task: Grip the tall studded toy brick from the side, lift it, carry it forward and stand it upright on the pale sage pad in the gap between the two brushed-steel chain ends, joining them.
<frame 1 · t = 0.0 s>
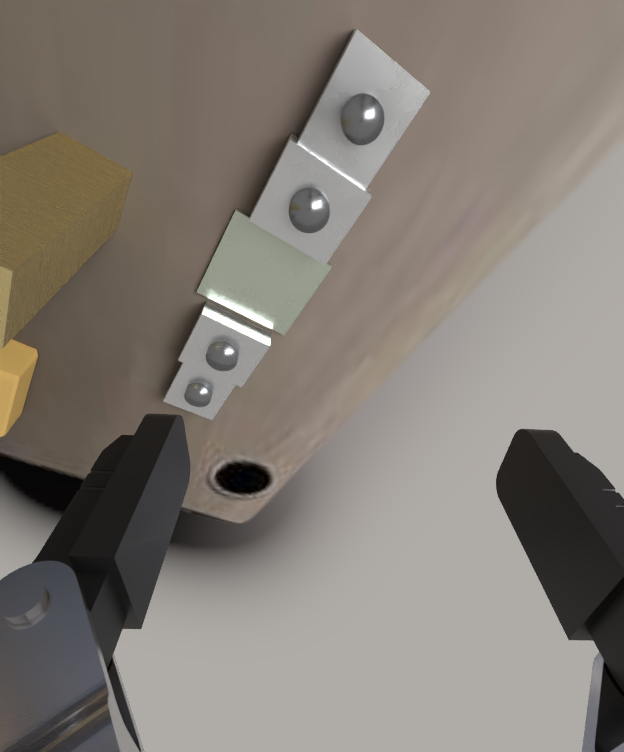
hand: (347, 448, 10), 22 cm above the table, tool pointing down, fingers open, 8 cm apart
tall studded toy brick: (90, 184, 27), on the table
chain ends: (263, 277, 31), on the table
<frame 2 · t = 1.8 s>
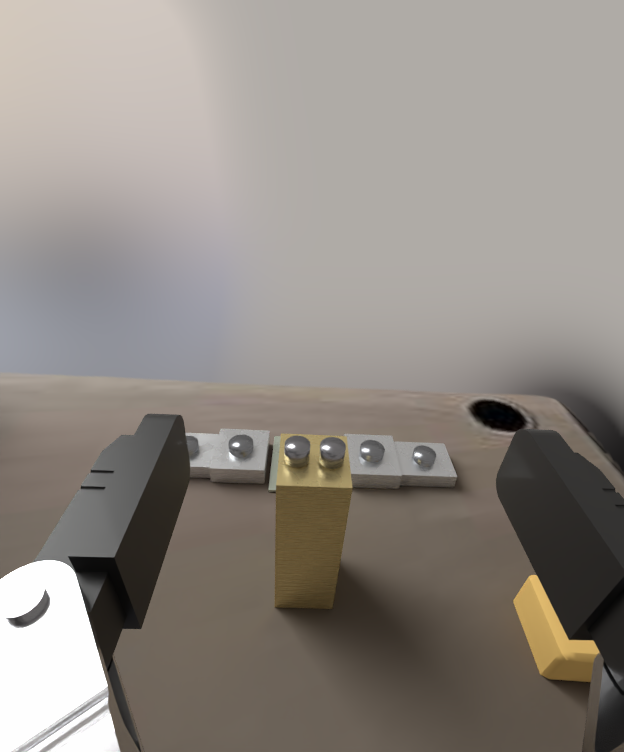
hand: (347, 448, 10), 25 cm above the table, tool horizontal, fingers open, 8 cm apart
rubber stamp: (588, 641, 31), on the table
tall studded toy brick: (304, 579, 33), on the table
chain ends: (305, 464, 44), on the table
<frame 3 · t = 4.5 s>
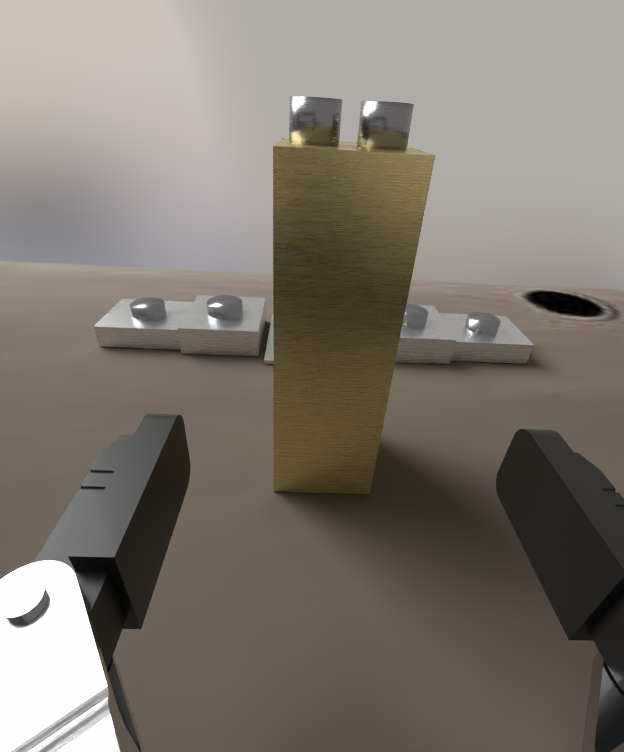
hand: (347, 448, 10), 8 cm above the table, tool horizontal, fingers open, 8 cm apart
tall studded toy brick: (320, 458, 21), on the table
chain ends: (316, 339, 31), on the table
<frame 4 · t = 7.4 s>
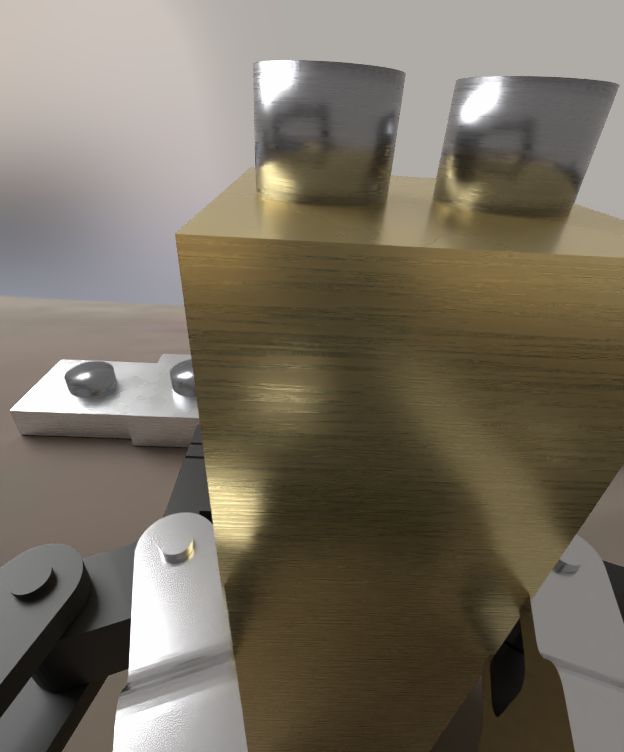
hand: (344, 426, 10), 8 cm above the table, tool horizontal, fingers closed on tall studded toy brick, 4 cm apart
tall studded toy brick: (326, 676, 13), on the table, touching gripper
chain ends: (319, 416, 23), on the table
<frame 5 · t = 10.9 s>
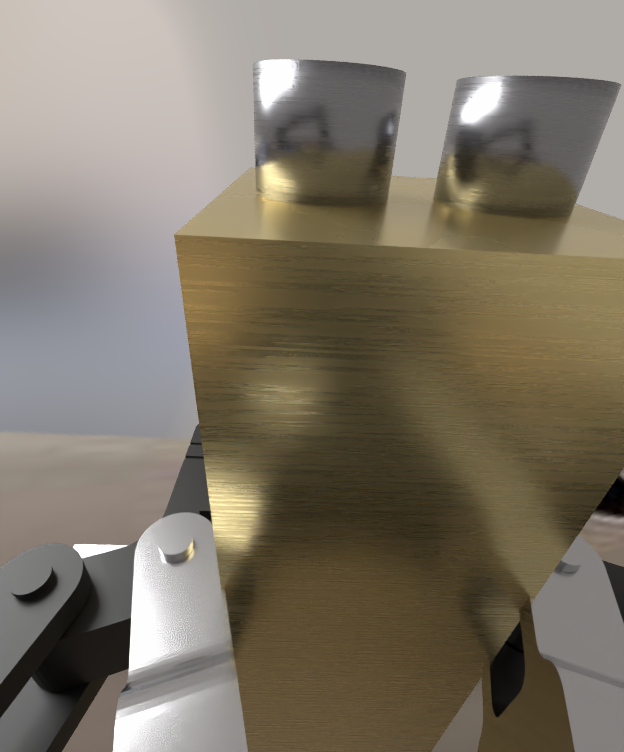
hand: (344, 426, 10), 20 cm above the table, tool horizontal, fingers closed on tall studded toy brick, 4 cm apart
tall studded toy brick: (327, 677, 13), point 12 cm above the table, touching gripper
chain ends: (308, 598, 26), on the table
when the fingers open (9 cm above the table, at t = 14.8 s): tall studded toy brick stays where it is, resting on chain ends.
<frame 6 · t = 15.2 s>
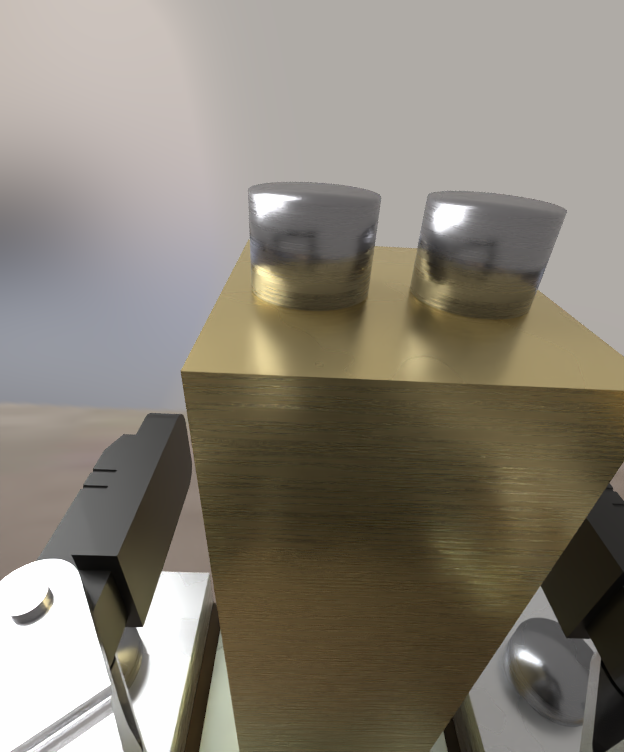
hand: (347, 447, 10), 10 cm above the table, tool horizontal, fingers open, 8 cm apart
tall studded toy brick: (322, 693, 13), resting on chain ends
chain ends: (322, 695, 13), on the table
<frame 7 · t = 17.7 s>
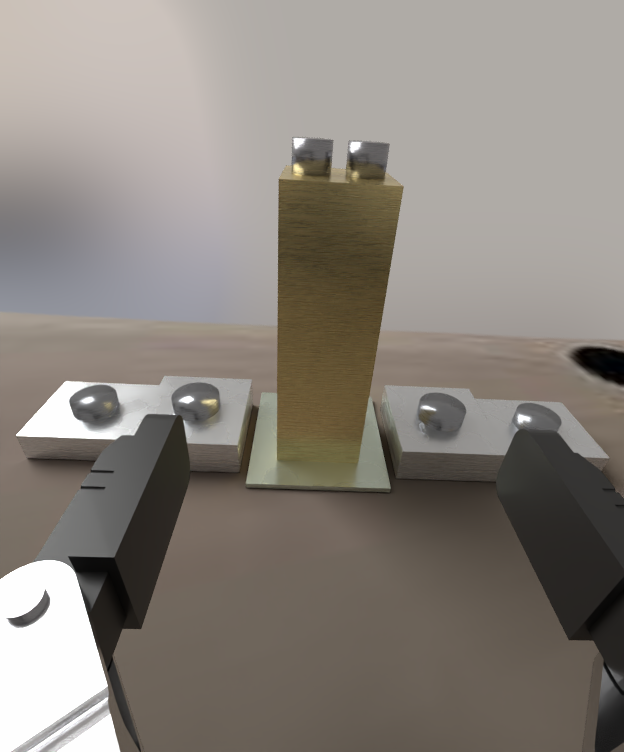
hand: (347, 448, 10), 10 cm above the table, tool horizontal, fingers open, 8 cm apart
tall studded toy brick: (317, 434, 24), resting on chain ends
chain ends: (317, 437, 24), on the table
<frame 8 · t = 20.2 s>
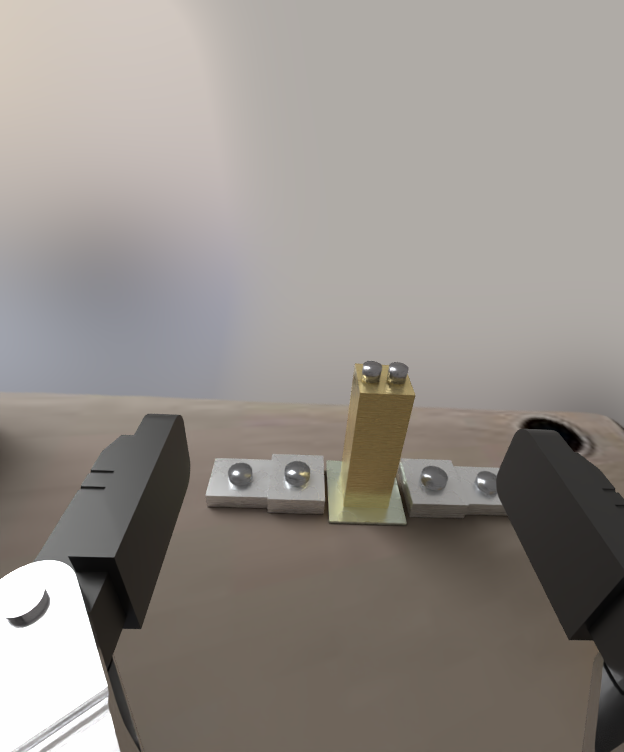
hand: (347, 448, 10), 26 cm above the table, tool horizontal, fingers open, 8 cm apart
tall studded toy brick: (363, 489, 42), resting on chain ends
chain ends: (363, 491, 42), on the table
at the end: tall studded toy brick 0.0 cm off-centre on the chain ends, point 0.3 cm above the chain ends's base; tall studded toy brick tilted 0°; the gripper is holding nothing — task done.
